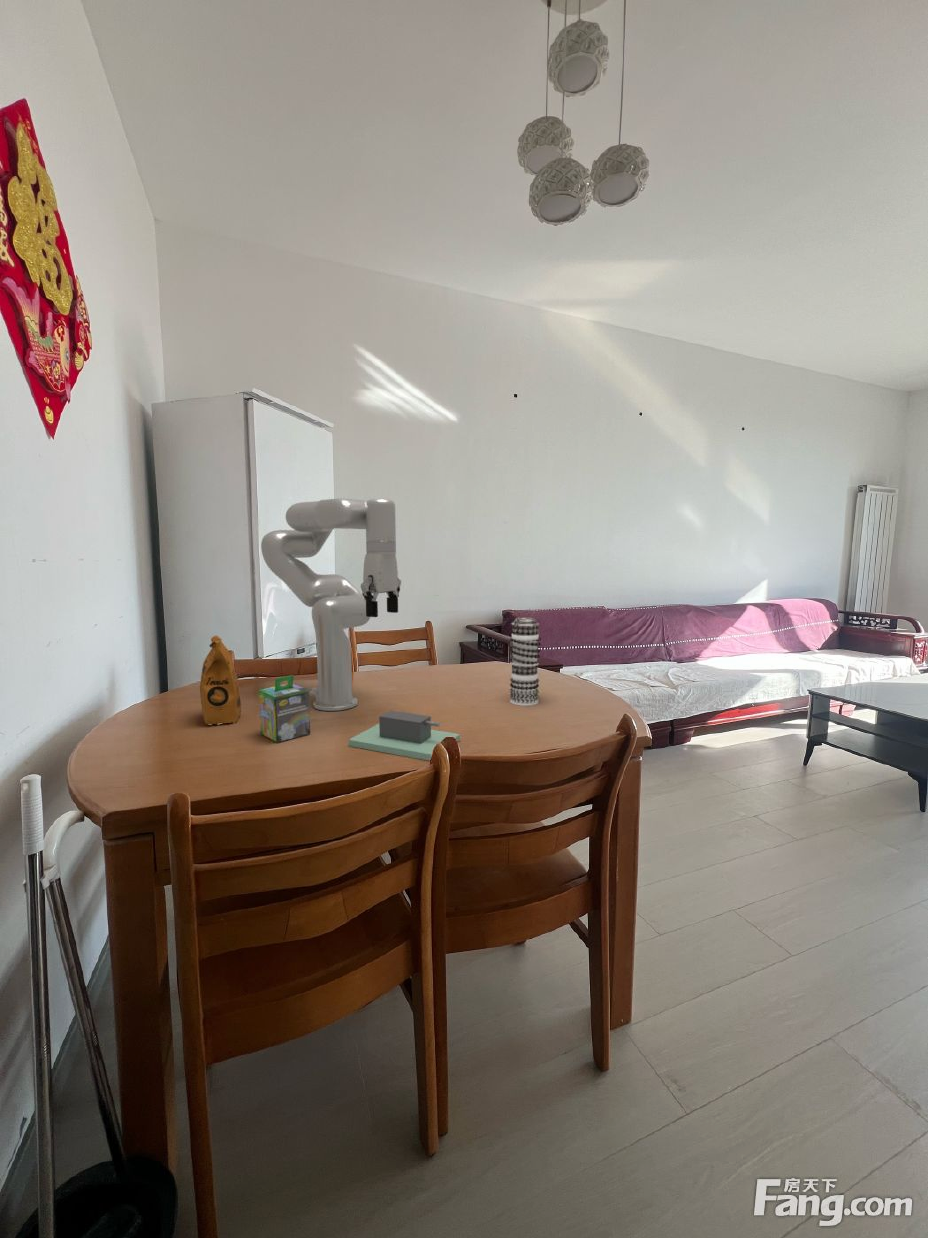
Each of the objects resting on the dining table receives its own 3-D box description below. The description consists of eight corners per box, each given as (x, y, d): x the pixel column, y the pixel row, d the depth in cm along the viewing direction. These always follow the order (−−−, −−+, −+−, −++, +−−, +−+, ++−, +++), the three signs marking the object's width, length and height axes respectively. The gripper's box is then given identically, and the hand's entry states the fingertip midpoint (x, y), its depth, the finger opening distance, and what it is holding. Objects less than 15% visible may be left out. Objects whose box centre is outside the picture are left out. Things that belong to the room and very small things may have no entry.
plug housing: (379, 737, 127) (379, 716, 127) (391, 730, 132) (390, 710, 131) (434, 746, 121) (434, 724, 121) (444, 739, 126) (444, 718, 125)
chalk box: (294, 725, 140) (291, 669, 138) (311, 734, 133) (309, 675, 131) (259, 734, 134) (256, 675, 131) (276, 744, 127) (273, 682, 125)
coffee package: (198, 728, 138) (192, 643, 135) (203, 714, 149) (198, 635, 146) (240, 724, 141) (235, 641, 138) (242, 710, 153) (238, 633, 150)
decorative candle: (541, 706, 156) (543, 620, 153) (509, 706, 157) (510, 620, 153) (537, 697, 166) (539, 616, 162) (507, 697, 166) (508, 616, 162)
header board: (348, 745, 126) (348, 727, 125) (382, 727, 138) (381, 710, 138) (432, 761, 117) (432, 741, 116) (459, 740, 129) (459, 722, 129)
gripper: (387, 548, 148) (388, 610, 150) (348, 548, 132) (350, 617, 135) (410, 548, 145) (411, 611, 147) (374, 548, 129) (376, 619, 132)
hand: (382, 614), depth 141 cm, fingers open, 9 cm apart
